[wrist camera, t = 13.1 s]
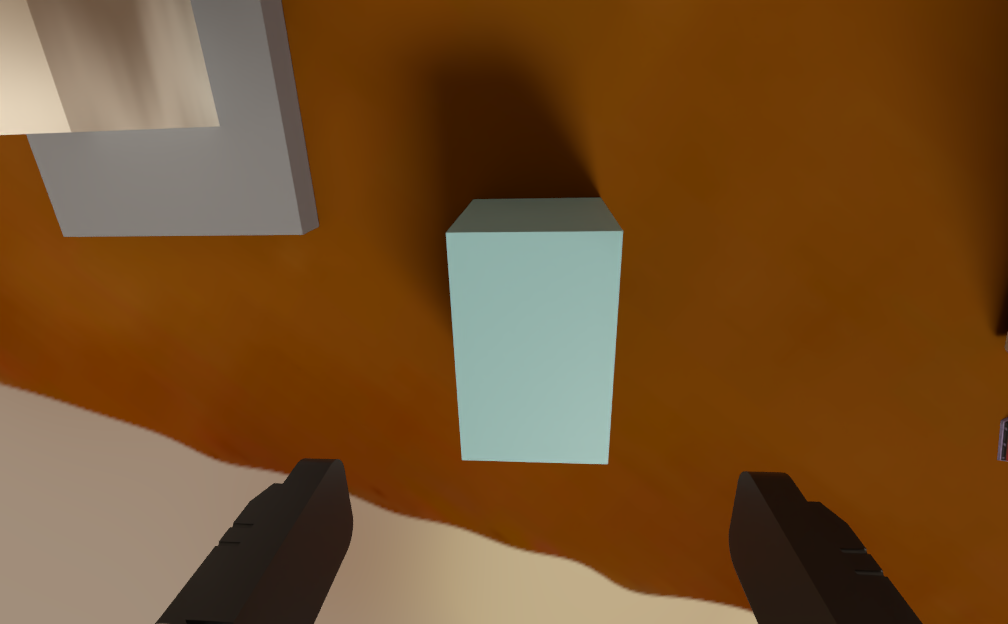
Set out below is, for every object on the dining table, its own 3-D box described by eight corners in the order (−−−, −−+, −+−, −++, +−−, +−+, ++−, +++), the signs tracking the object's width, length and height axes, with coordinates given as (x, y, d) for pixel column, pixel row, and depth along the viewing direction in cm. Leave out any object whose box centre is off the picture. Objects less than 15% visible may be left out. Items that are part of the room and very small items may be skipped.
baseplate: (-80, -284, 15) (-142, -323, 14) (227, -316, 14) (194, -362, 13) (95, 228, 21) (64, 236, 20) (319, 226, 20) (302, 234, 19)
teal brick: (473, 199, 20) (446, 232, 14) (600, 197, 19) (623, 231, 14) (482, 374, 23) (461, 459, 17) (592, 376, 22) (607, 464, 17)
